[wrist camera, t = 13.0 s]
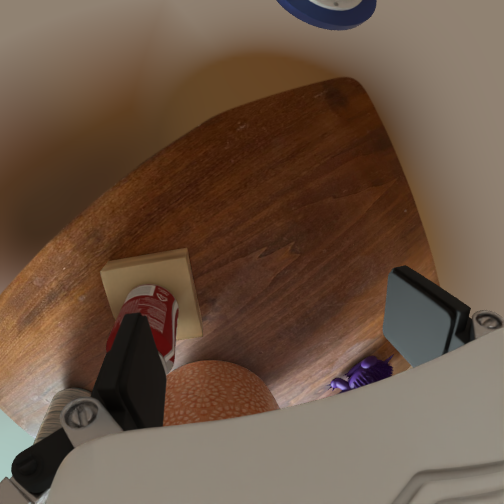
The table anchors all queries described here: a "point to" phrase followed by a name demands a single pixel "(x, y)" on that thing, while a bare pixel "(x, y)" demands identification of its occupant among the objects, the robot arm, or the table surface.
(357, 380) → the creature
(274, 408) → the planter
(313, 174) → the table surface
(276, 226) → the table surface
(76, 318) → the table surface
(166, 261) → the oak block
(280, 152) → the table surface
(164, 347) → the soda can
